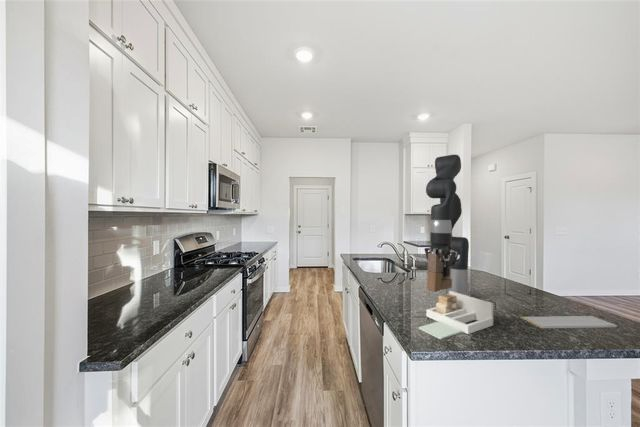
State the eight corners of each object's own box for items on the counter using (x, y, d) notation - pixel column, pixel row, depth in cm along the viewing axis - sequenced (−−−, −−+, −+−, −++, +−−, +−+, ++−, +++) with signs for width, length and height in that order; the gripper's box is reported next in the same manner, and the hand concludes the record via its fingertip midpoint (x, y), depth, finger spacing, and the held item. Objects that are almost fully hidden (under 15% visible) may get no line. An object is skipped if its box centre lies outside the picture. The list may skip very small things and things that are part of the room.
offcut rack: (450, 309, 122) (450, 290, 122) (493, 325, 105) (493, 303, 105) (426, 316, 114) (426, 296, 114) (468, 334, 98) (468, 310, 98)
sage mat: (439, 322, 108) (439, 321, 108) (461, 332, 99) (461, 330, 99) (418, 328, 102) (418, 327, 102) (440, 339, 93) (440, 337, 93)
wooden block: (426, 289, 99) (428, 242, 99) (443, 285, 105) (445, 241, 104) (435, 292, 96) (436, 244, 96) (452, 288, 102) (453, 242, 101)
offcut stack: (448, 312, 119) (448, 293, 119) (458, 316, 115) (458, 296, 115) (435, 316, 115) (435, 295, 115) (445, 320, 110) (445, 299, 110)
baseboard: (517, 317, 114) (541, 330, 102) (517, 311, 114) (541, 322, 102) (585, 316, 115) (617, 329, 103) (585, 310, 115) (617, 321, 103)
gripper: (464, 232, 96) (464, 278, 96) (431, 230, 109) (431, 271, 109) (451, 233, 93) (451, 281, 93) (419, 230, 105) (419, 273, 105)
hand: (440, 275), depth 101 cm, fingers closed on wooden block, 3 cm apart
